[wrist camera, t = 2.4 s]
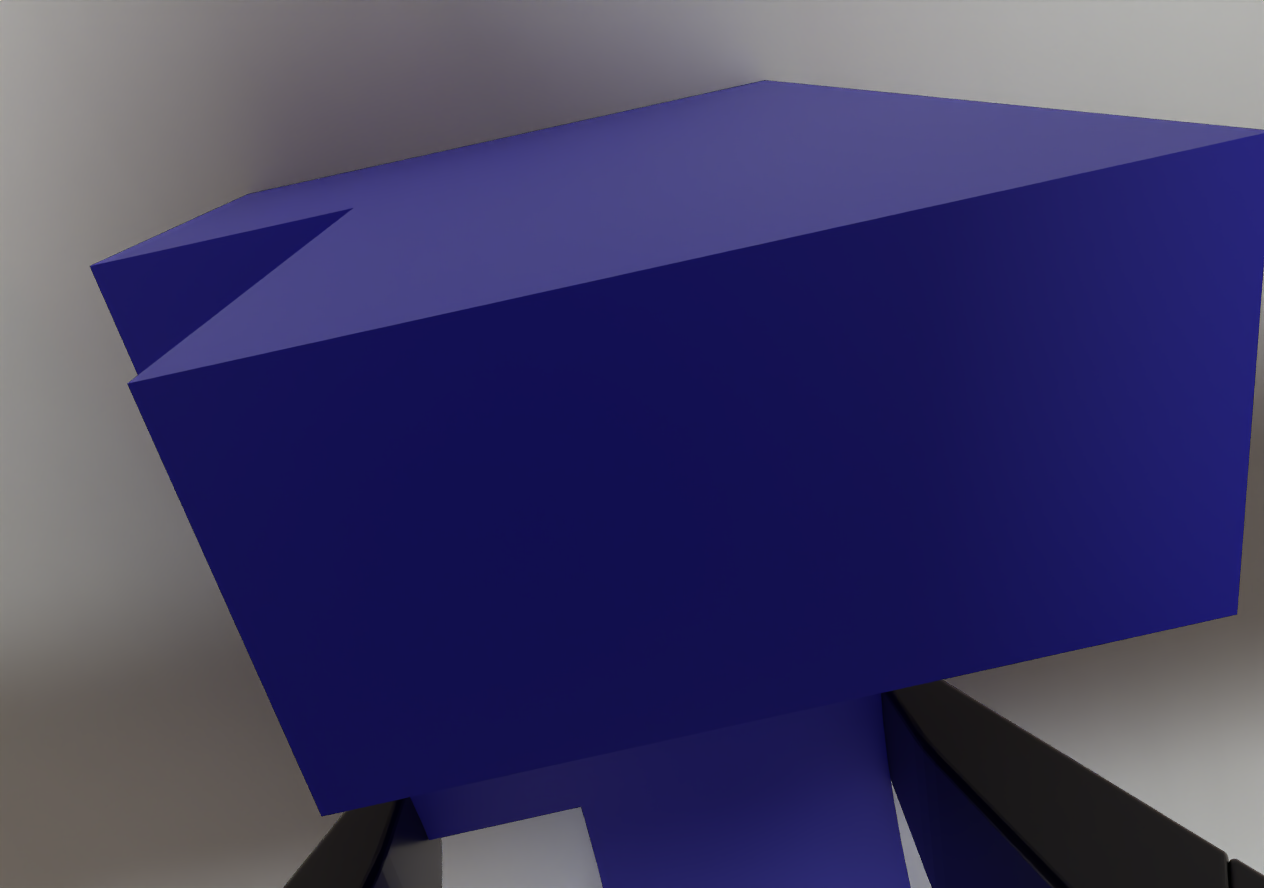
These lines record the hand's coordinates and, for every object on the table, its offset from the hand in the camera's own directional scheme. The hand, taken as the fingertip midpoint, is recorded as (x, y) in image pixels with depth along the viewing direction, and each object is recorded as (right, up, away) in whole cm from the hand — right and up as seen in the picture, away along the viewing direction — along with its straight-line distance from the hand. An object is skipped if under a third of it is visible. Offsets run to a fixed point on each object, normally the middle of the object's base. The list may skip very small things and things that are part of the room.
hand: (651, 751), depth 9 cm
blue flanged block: (0, 0, +1) cm, 1 cm away
